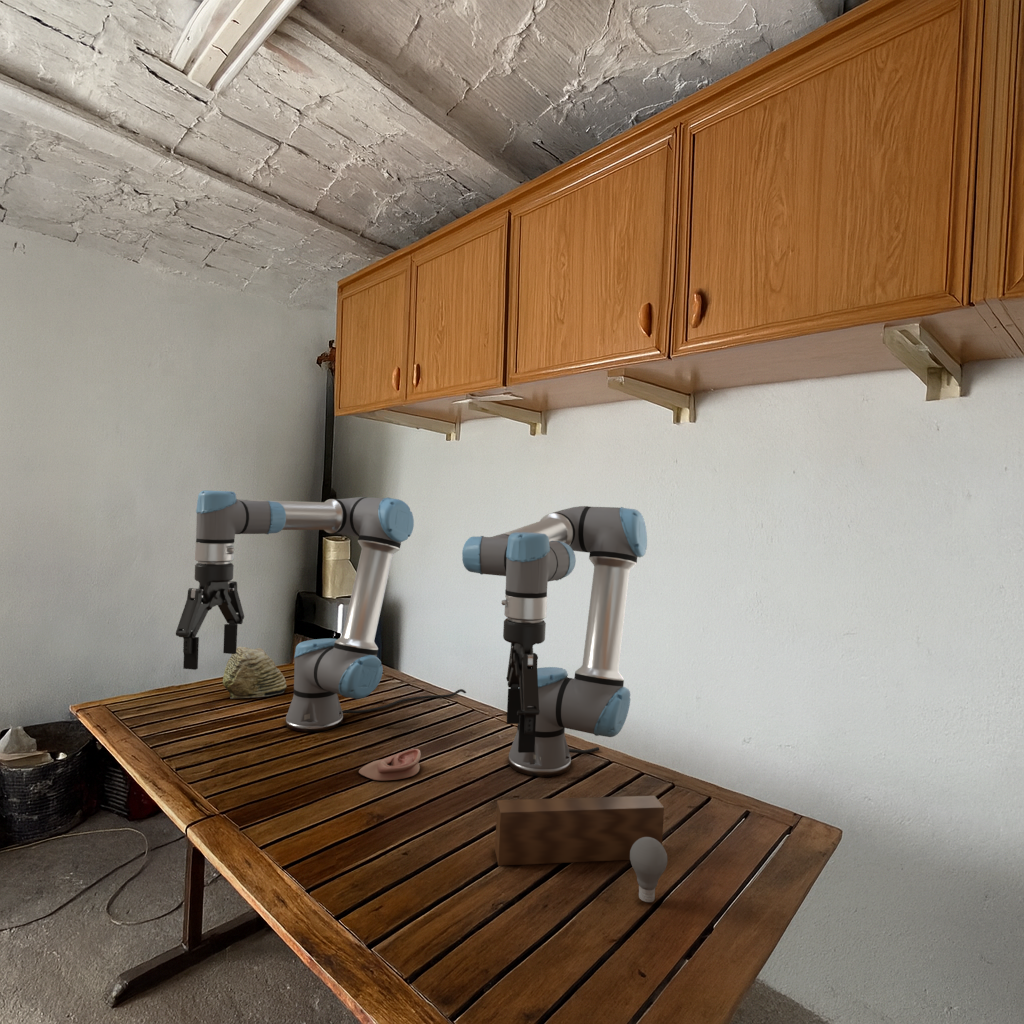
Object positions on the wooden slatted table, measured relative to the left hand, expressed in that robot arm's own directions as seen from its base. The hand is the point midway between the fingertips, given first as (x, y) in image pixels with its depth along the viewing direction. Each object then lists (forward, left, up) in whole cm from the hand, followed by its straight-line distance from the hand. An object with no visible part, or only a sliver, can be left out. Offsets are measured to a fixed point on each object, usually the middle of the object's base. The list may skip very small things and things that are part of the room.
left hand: (211, 660), depth 136 cm
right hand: (-24, +66, -5) cm, 70 cm away
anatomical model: (-32, +23, -27) cm, 48 cm away
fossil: (-39, -50, -27) cm, 68 cm away
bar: (-33, +74, -27) cm, 85 cm away
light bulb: (-29, +90, -27) cm, 98 cm away
